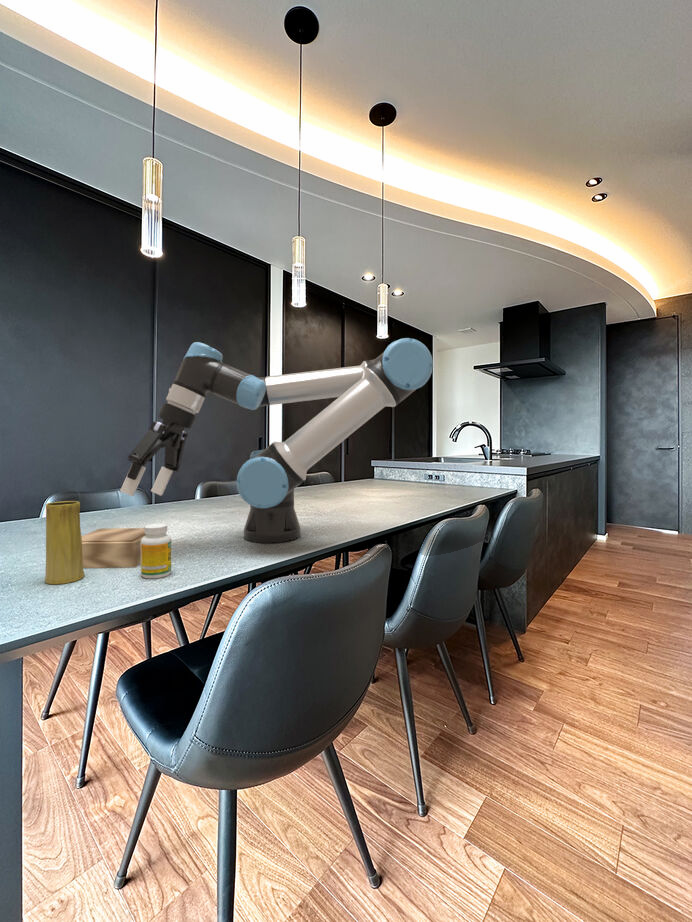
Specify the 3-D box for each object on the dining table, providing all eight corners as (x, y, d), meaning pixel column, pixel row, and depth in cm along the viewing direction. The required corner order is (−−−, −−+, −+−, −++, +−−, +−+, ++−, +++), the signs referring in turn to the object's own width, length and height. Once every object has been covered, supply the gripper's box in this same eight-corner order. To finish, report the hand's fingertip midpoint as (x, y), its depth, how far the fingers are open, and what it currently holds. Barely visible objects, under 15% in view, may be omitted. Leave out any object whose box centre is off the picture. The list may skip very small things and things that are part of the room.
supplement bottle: (139, 573, 81) (138, 524, 81) (169, 568, 84) (168, 521, 83) (142, 581, 77) (141, 529, 76) (173, 576, 79) (173, 526, 79)
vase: (55, 587, 73) (53, 506, 72) (38, 581, 76) (35, 503, 75) (91, 577, 78) (89, 502, 78) (73, 572, 81) (71, 499, 81)
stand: (160, 549, 99) (160, 527, 98) (135, 567, 85) (135, 541, 84) (99, 550, 98) (99, 527, 97) (63, 568, 84) (62, 542, 83)
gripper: (187, 412, 108) (153, 487, 107) (139, 388, 83) (94, 486, 82) (213, 423, 108) (179, 499, 106) (173, 402, 83) (128, 500, 82)
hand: (142, 493), depth 94 cm, fingers open, 13 cm apart
